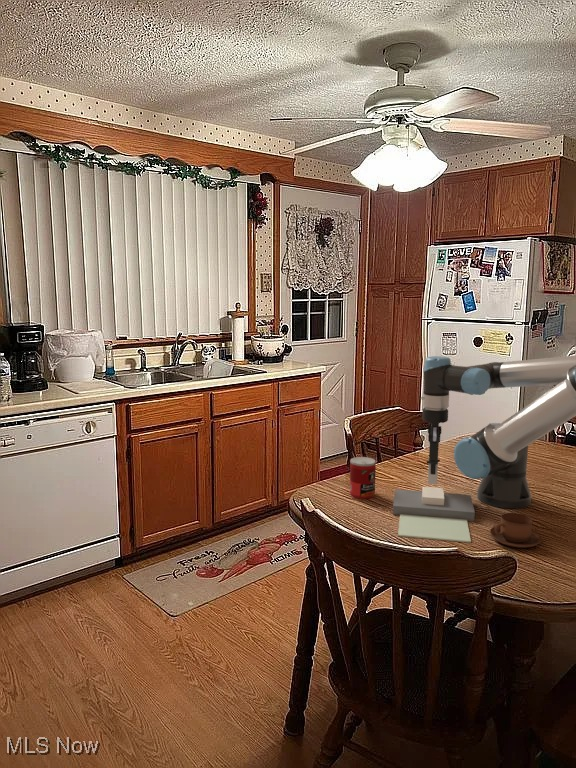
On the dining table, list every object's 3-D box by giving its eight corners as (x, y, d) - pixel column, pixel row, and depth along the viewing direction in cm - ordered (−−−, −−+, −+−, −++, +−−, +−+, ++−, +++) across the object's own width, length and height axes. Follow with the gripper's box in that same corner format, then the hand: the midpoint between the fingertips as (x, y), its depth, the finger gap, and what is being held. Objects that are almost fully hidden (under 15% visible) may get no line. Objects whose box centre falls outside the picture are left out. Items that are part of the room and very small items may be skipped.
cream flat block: (422, 492, 173) (422, 486, 173) (442, 494, 172) (443, 488, 171) (422, 503, 164) (422, 496, 164) (444, 505, 163) (444, 498, 163)
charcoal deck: (470, 502, 172) (470, 494, 171) (474, 521, 158) (474, 512, 158) (395, 497, 177) (395, 489, 176) (392, 514, 163) (393, 505, 163)
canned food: (363, 501, 174) (363, 465, 172) (344, 494, 180) (344, 459, 178) (380, 495, 178) (381, 460, 177) (361, 488, 184) (362, 455, 183)
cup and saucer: (523, 556, 138) (524, 532, 137) (480, 539, 147) (481, 516, 146) (550, 543, 145) (552, 520, 144) (507, 527, 154) (509, 505, 153)
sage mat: (466, 521, 158) (466, 519, 158) (470, 542, 145) (470, 541, 145) (399, 515, 162) (400, 514, 162) (397, 536, 149) (397, 534, 149)
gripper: (422, 403, 181) (420, 475, 185) (422, 411, 168) (419, 489, 172) (447, 404, 179) (444, 477, 183) (449, 413, 167) (445, 491, 170)
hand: (432, 483), depth 178 cm, fingers closed
